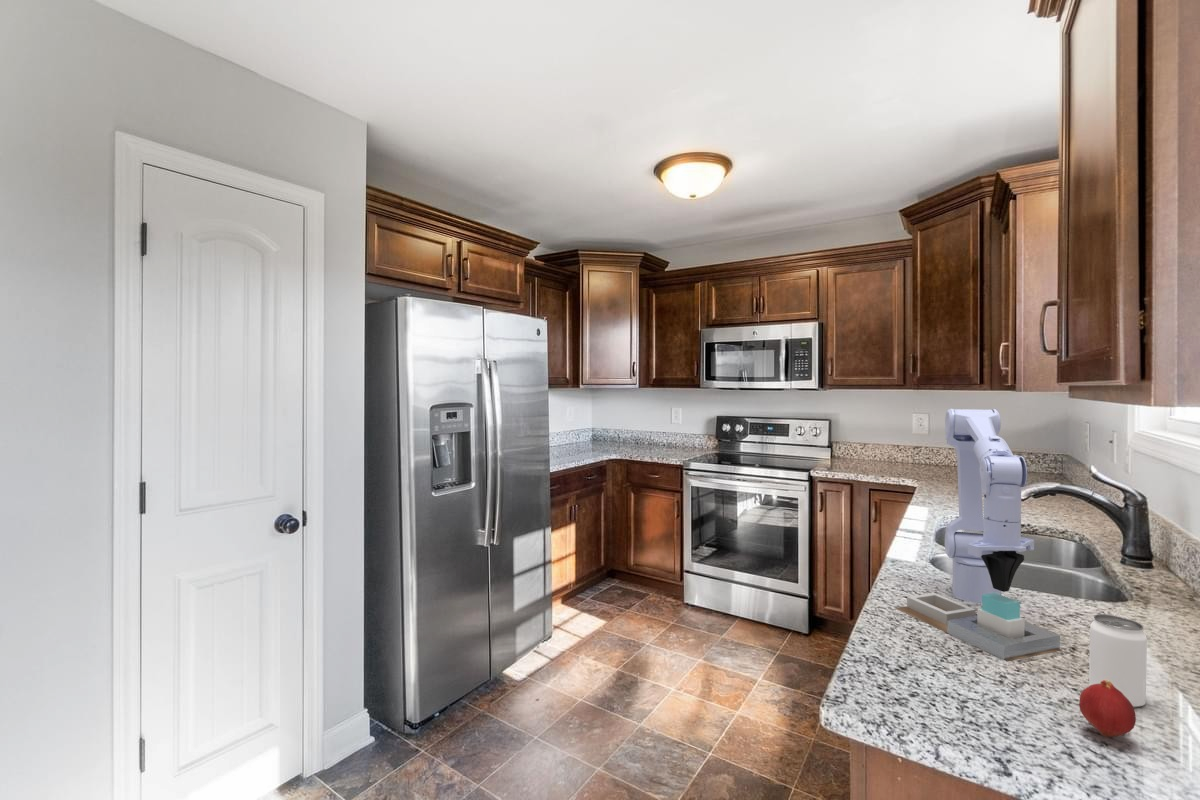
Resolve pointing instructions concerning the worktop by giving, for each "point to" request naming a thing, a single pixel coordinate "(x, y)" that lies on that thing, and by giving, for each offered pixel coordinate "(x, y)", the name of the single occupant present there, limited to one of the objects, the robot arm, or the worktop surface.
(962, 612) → the grey rectangular frame
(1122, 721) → the onion
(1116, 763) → the worktop surface
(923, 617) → the panel board
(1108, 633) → the can
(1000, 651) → the port
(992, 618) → the plug
